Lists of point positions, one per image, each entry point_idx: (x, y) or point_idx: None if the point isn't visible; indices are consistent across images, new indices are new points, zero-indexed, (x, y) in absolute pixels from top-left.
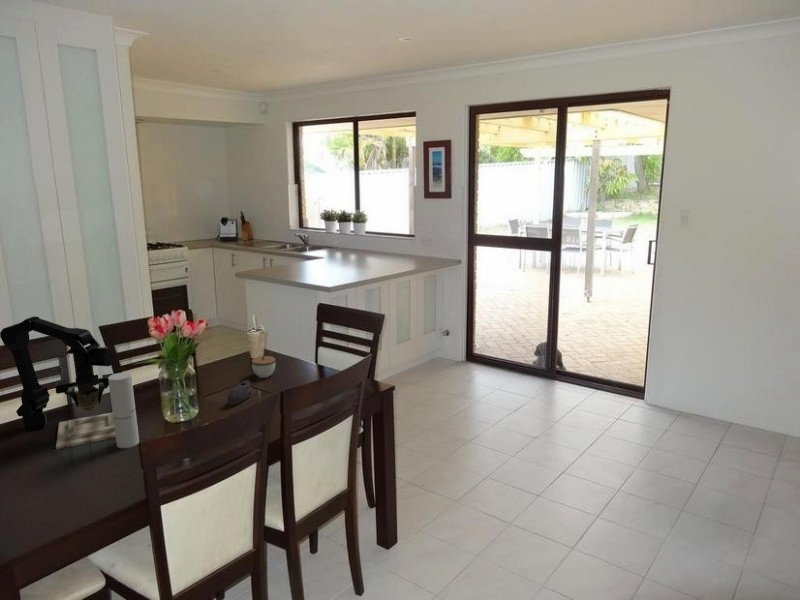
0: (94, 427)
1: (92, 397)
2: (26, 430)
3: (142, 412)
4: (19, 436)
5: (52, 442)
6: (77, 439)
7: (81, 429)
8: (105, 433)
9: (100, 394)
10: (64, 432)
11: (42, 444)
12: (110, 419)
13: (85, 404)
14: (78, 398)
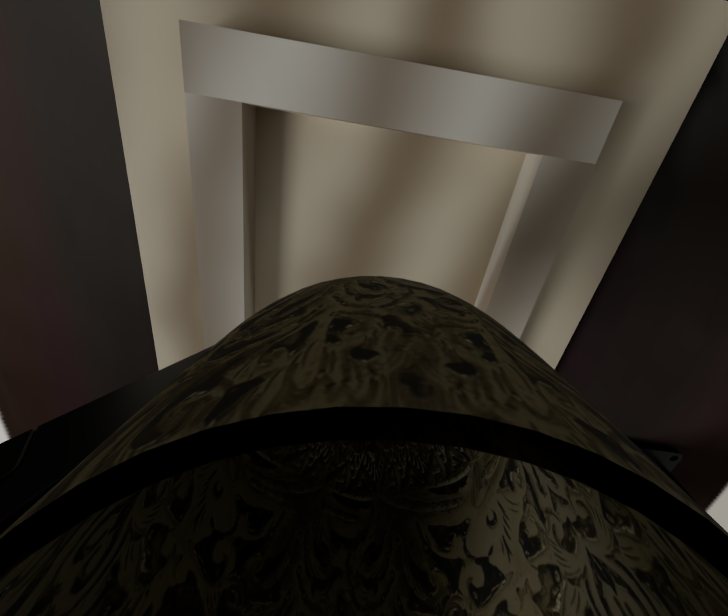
0: (356, 250)
1: (243, 364)
2: (671, 453)
3: (57, 340)
4: (720, 417)
5: (654, 207)
6: (531, 65)
7: (442, 272)
8: (291, 35)
9: (10, 466)
10: (549, 292)
11: (716, 217)
12: (227, 264)
13: (460, 302)
14: (673, 512)
